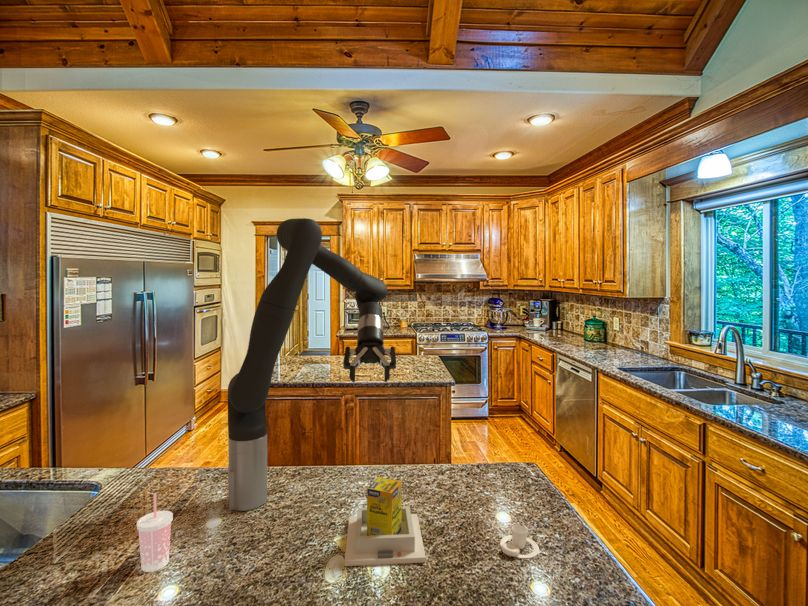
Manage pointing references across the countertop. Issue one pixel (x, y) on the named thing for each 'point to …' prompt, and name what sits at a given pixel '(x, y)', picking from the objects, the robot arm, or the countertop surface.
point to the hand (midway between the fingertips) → (369, 380)
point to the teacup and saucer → (518, 542)
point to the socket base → (384, 542)
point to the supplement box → (384, 507)
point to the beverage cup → (154, 539)
